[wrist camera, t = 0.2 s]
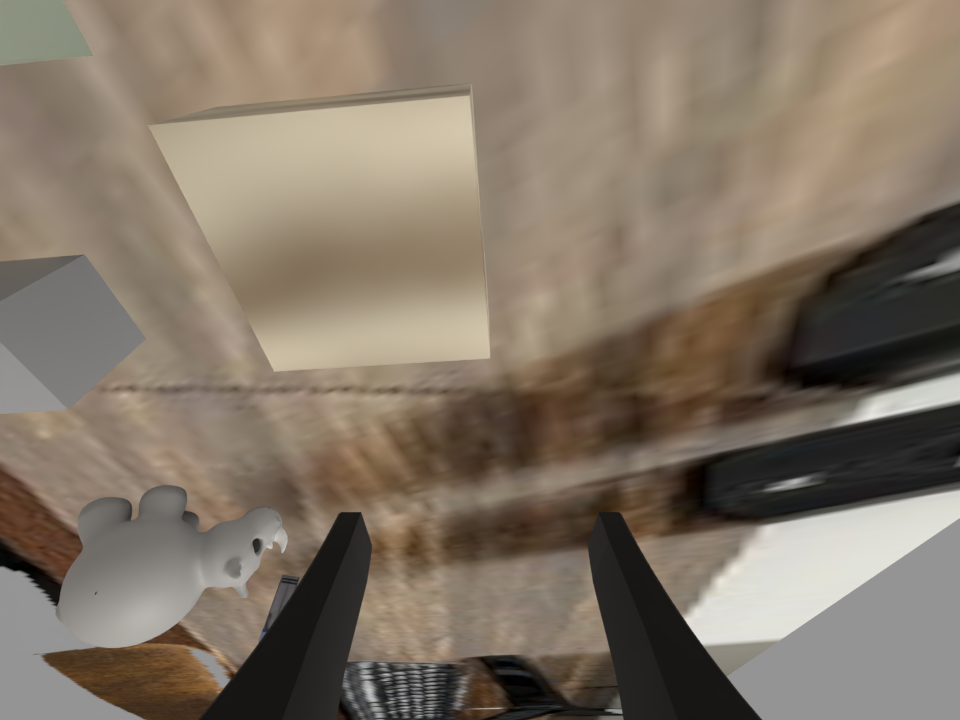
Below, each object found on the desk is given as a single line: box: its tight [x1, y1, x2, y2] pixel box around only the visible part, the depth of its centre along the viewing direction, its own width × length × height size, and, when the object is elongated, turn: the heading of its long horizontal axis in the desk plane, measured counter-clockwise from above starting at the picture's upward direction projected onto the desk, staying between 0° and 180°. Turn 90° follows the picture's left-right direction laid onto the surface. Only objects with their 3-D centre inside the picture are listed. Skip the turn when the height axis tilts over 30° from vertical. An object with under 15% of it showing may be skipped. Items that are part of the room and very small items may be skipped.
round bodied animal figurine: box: [56, 485, 288, 648], centre depth 27 cm, size 7×12×8 cm, turn 78°
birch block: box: [148, 83, 490, 372], centre depth 15 cm, size 9×9×4 cm
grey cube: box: [0, 254, 146, 414], centre depth 17 cm, size 4×4×5 cm
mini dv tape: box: [259, 575, 300, 642], centre depth 37 cm, size 8×2×6 cm, turn 159°
